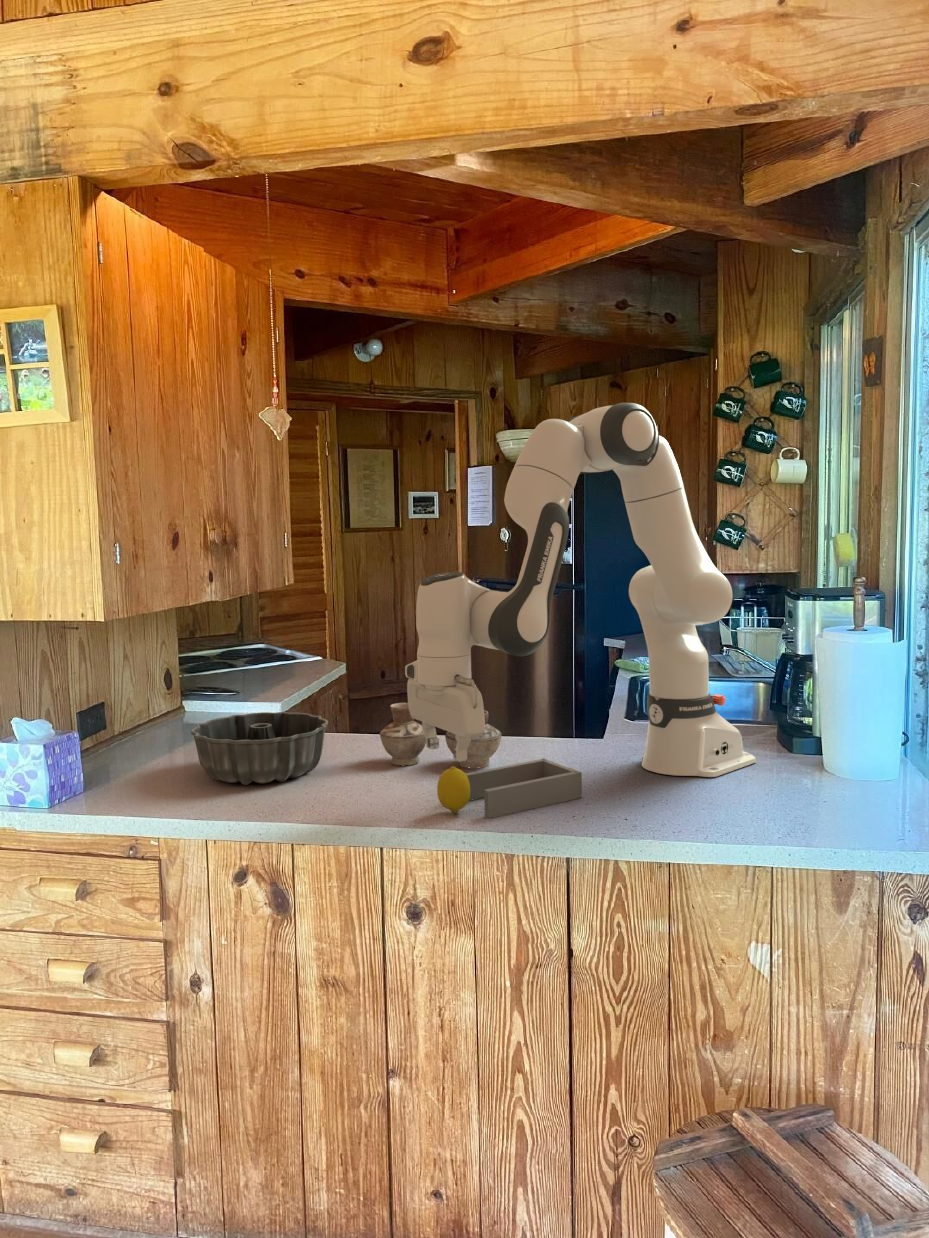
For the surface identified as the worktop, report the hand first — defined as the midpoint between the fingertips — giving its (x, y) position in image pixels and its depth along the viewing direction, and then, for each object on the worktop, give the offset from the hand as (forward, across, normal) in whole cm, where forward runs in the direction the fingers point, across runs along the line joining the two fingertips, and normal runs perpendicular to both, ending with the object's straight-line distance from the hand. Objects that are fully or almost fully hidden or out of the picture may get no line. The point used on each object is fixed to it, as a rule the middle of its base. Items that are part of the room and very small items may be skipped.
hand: (446, 754), depth 152 cm
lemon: (+10, 0, -1) cm, 10 cm away
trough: (+10, 0, -14) cm, 17 cm away
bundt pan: (+11, +44, +18) cm, 48 cm away
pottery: (+10, +29, -14) cm, 34 cm away
